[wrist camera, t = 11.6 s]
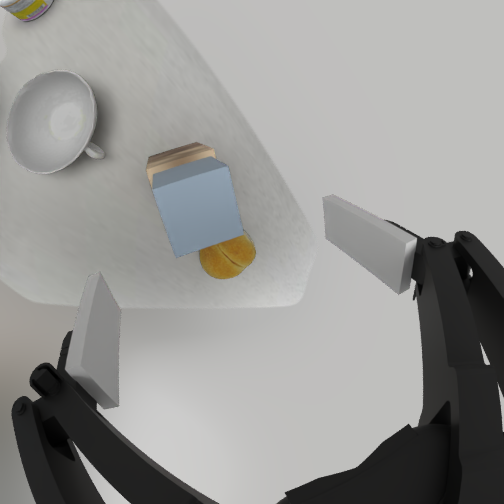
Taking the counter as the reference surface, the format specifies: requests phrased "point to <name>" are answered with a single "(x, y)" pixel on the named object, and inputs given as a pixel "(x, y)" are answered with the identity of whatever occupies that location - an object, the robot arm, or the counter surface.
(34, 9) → the supplement bottle
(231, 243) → the bread roll
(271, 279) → the counter surface
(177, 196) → the slate block
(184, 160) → the tower mid
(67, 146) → the teacup
